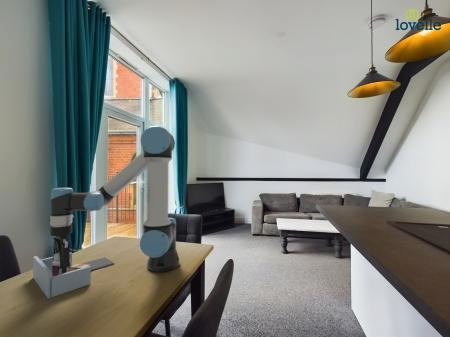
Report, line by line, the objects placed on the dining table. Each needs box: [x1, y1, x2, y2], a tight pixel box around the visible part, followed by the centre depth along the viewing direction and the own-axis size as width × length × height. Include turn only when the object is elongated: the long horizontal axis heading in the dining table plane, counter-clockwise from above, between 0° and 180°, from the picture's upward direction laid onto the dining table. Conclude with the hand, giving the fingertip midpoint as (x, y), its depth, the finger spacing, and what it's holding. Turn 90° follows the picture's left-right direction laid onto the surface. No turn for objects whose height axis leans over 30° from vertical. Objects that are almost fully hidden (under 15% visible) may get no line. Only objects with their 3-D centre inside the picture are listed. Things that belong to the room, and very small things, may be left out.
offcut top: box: [70, 263, 90, 271], centre depth 101 cm, size 6×4×2 cm, turn 79°
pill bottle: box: [52, 253, 71, 277], centre depth 95 cm, size 6×6×11 cm
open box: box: [32, 252, 92, 299], centre depth 95 cm, size 24×14×9 cm, turn 50°
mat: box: [81, 257, 115, 272], centre depth 112 cm, size 11×11×1 cm
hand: (60, 280), depth 95 cm, fingers open, 6 cm apart
